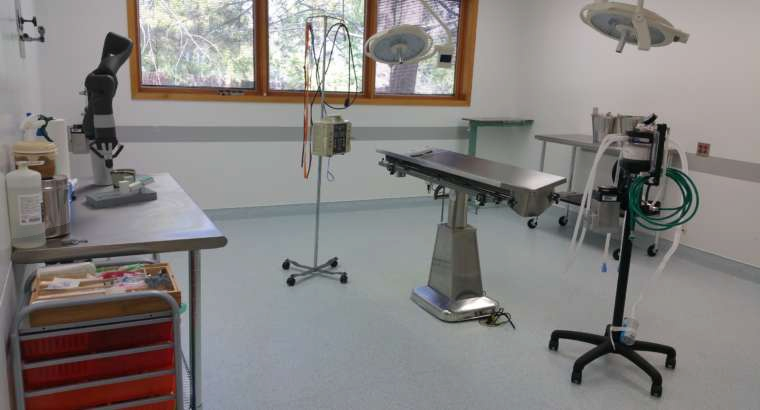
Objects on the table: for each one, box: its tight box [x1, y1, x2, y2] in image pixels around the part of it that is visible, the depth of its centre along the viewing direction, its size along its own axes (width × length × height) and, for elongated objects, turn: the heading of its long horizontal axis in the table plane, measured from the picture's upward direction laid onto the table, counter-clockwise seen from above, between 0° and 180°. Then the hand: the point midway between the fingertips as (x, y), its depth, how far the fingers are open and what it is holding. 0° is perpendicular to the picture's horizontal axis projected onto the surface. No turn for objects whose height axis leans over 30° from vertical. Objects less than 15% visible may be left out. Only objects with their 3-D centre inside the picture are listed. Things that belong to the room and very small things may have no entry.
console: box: [85, 186, 158, 209], centre depth 231 cm, size 15×24×6 cm, turn 133°
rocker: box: [129, 175, 156, 191], centre depth 231 cm, size 5×10×2 cm, turn 133°
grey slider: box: [123, 176, 134, 184], centre depth 237 cm, size 3×3×6 cm
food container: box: [109, 168, 138, 191], centre depth 247 cm, size 12×6×10 cm, turn 84°
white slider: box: [118, 180, 130, 195], centre depth 227 cm, size 3×3×6 cm
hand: (109, 168), depth 222 cm, fingers closed
